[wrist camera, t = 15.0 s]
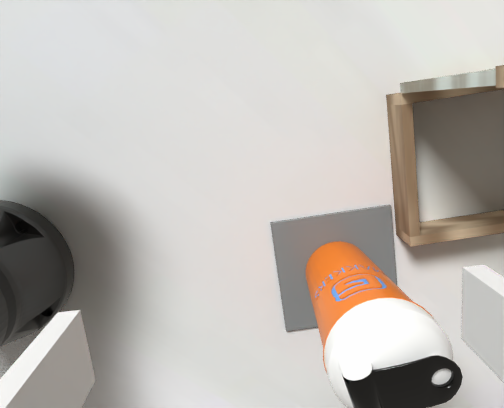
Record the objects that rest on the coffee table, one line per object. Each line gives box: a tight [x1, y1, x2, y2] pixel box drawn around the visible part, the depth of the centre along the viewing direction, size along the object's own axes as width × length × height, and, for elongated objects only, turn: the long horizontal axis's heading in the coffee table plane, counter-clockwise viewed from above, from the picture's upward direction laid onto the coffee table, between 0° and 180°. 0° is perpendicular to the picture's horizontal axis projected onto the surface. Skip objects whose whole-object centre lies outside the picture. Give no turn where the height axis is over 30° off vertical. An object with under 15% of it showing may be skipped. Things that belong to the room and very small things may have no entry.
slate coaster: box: [270, 205, 397, 331], centre depth 46 cm, size 13×13×1 cm
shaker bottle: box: [305, 241, 462, 408], centre depth 36 cm, size 9×9×20 cm
